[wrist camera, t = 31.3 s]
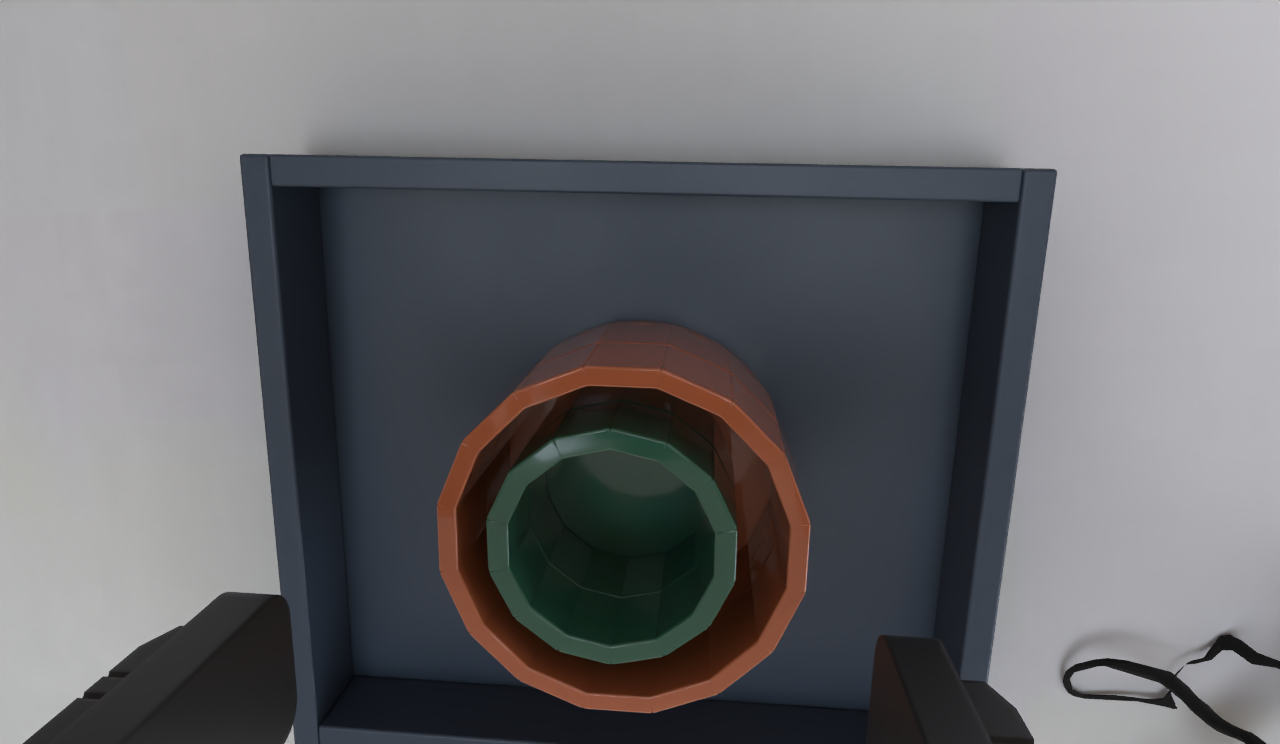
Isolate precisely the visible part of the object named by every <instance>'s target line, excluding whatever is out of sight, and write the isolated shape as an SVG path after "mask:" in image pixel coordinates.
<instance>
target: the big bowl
mask: <svg viewBox="0 0 1280 744" xmlns="http://www.w3.org/2000/svg"><path fill="white" fill-rule="evenodd" d="M586 386H603V387H628V388H653V389H659V390H661V391H663V392H666V393H668V394H670V395H672V396H675V397H677V398H679V399H681V400H684V401H686V402H688V403H690V404H693V405H695V406H697V407H699V408H702V409H704V410H706V411H708V412H710V414H711V415H712V416H713V418H714V419H715V421H716V422H717V424H718V425H719V427H720V429H721V431H722V433H723V435H724V437H725V440H726V443H727V446H728V449H729V453H730V456H731V458H732V462H733V473H734V486H735V500H736V513H737V527H738V541H737V568H736V581H735V585H734V586H733V588H732V590H731V592H730V593H729V595H728V597H727V598H726V600H725V602H724V604H723V605H722V607H721V609H720V610H719V612H718V614H717V616H716V617H715V619H714V621H713V622H712V624H711V626H709V627H708V629H707V630H705V631H704V632H702V633H700V634H699V635H697V636H696V637H694V638H693V639H691V640H690V641H688V642H687V643H685V644H684V645H682V646H680V647H679V648H677V649H676V650H674V651H673V652H671V653H670V654H668V655H667V656H663V657H661V658H654V659H647V660H640V661H634V662H627V663H620V664H614V665H613V664H611V663H610V664H605V663H601V662H597V661H593V660H589V659H586V658H582V657H578V656H574V655H570V654H566V653H562V652H559V651H558V650H555V649H554V648H552V647H551V646H550V645H548V644H547V643H546V642H544V641H543V640H542V639H541V638H539V637H538V636H537V635H535V634H534V633H533V632H531V631H530V630H529V629H527V628H526V627H525V626H523V625H522V624H521V623H519V622H518V621H517V620H516V619H515V617H513V616H512V614H511V612H510V610H509V608H508V607H507V605H506V603H505V601H504V599H503V597H502V596H501V594H500V592H499V590H498V588H497V586H496V585H495V583H494V581H493V579H492V577H491V575H490V574H489V570H488V556H487V533H486V520H487V515H488V513H489V511H490V509H491V507H492V505H493V503H494V500H495V498H496V496H497V494H498V492H499V490H500V488H501V486H502V484H503V482H504V479H505V477H506V475H507V473H508V472H509V470H510V469H511V467H512V466H513V464H514V463H515V461H516V460H517V458H518V457H519V455H520V454H521V452H522V451H523V450H524V448H525V447H526V445H527V444H528V442H529V441H530V439H531V438H532V436H533V435H534V433H535V432H536V430H537V429H538V427H539V426H540V424H541V423H542V421H543V420H544V418H545V417H546V416H547V415H548V413H549V412H551V411H552V410H553V409H554V408H555V407H556V406H557V405H558V404H559V403H560V402H561V401H562V400H563V399H564V398H566V397H567V396H568V395H569V394H570V393H572V392H574V391H575V390H578V389H581V388H583V387H586ZM437 525H438V548H439V570H440V573H441V576H442V578H443V580H444V582H445V584H446V586H447V588H448V591H449V593H450V595H451V597H452V599H453V601H454V603H455V605H456V607H457V610H458V612H459V614H460V616H461V618H462V620H463V622H464V624H465V626H466V629H467V631H468V632H470V635H471V636H472V637H473V638H474V639H476V640H477V641H478V642H479V643H480V644H481V645H482V646H483V647H484V648H485V649H486V650H487V651H488V652H489V653H490V654H491V655H492V656H493V657H495V658H496V659H497V660H498V661H499V662H500V663H501V664H502V665H503V666H504V667H505V668H506V669H507V670H508V671H509V672H510V673H511V674H512V675H514V676H515V677H516V678H517V679H520V681H521V682H523V683H526V684H528V685H530V686H533V687H535V688H537V689H539V690H542V691H544V692H546V693H549V694H551V695H553V696H555V697H558V698H560V699H562V700H565V701H567V702H569V703H572V704H574V705H576V706H578V707H581V708H582V707H584V708H585V709H598V710H612V711H627V712H641V713H652V712H653V713H655V712H659V711H662V710H666V709H669V708H673V707H676V706H680V705H683V704H687V703H690V702H694V701H697V700H700V699H704V698H707V697H711V696H714V695H717V694H718V693H721V692H722V691H724V690H725V689H726V688H727V687H729V686H730V685H731V684H733V683H734V682H735V681H737V680H738V679H739V678H740V677H742V676H743V675H744V674H746V673H747V672H748V671H749V670H751V669H752V668H753V667H755V666H756V665H757V664H758V663H760V662H761V661H762V660H764V659H765V658H766V657H768V656H769V655H770V654H771V653H772V651H774V650H775V648H776V646H777V644H778V642H779V641H780V639H781V637H782V635H783V633H784V631H785V630H786V628H787V626H788V624H789V622H790V621H791V619H792V617H793V615H794V613H795V611H796V610H797V608H798V606H799V604H800V602H801V601H802V599H803V597H804V595H805V591H806V585H807V572H808V558H809V545H810V531H811V524H810V518H809V515H808V511H807V508H806V504H805V501H804V497H803V494H802V490H801V487H800V483H799V480H798V476H797V473H796V469H795V465H794V462H793V458H792V455H791V451H790V448H789V445H788V442H787V439H786V437H785V434H784V431H783V428H782V426H781V423H780V420H779V416H778V414H777V411H776V409H775V407H774V404H773V401H772V399H771V396H770V395H769V393H768V391H767V390H766V389H765V388H764V387H763V385H762V383H761V382H760V381H759V379H758V378H757V377H756V376H755V375H754V373H753V372H752V371H751V370H750V368H749V367H748V366H747V365H746V364H745V363H743V362H742V361H741V360H740V359H739V358H738V357H737V356H736V355H735V354H734V353H732V352H731V351H729V350H728V349H727V348H725V347H724V346H722V345H721V344H719V343H718V342H716V341H714V340H712V339H710V338H709V337H707V336H705V335H703V334H701V333H698V332H696V331H693V330H690V329H688V328H685V327H682V326H678V325H673V324H669V323H665V322H657V321H646V320H635V321H620V322H614V323H608V324H603V325H600V326H597V327H593V328H590V329H587V330H585V331H582V332H580V333H578V334H576V335H574V336H571V337H569V338H568V339H566V340H565V341H563V342H560V343H558V344H557V345H554V346H553V347H552V348H551V349H550V350H549V351H548V352H547V353H546V354H545V355H544V356H543V357H542V358H540V359H539V360H538V361H537V363H536V364H535V365H534V366H533V367H532V368H531V369H529V370H528V371H527V372H526V373H525V374H524V375H523V376H522V377H521V378H520V379H519V380H518V381H517V382H516V383H515V384H514V385H513V386H512V387H511V388H510V389H509V391H508V392H507V393H506V394H505V395H504V396H503V397H502V398H501V399H500V400H499V401H498V402H497V403H496V405H495V406H494V407H493V408H492V409H491V410H490V411H489V412H488V413H487V414H486V415H485V416H484V417H483V419H482V420H481V421H480V422H479V423H478V424H477V425H476V426H475V427H474V428H473V429H472V430H471V432H470V433H469V434H468V435H467V436H466V437H465V438H464V439H463V441H462V442H461V444H460V447H459V449H458V452H457V454H456V457H455V459H454V462H453V464H452V467H451V469H450V472H449V474H448V477H447V479H446V482H445V484H444V487H443V489H442V492H441V494H440V497H439V499H438V502H437Z"/></svg>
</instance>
